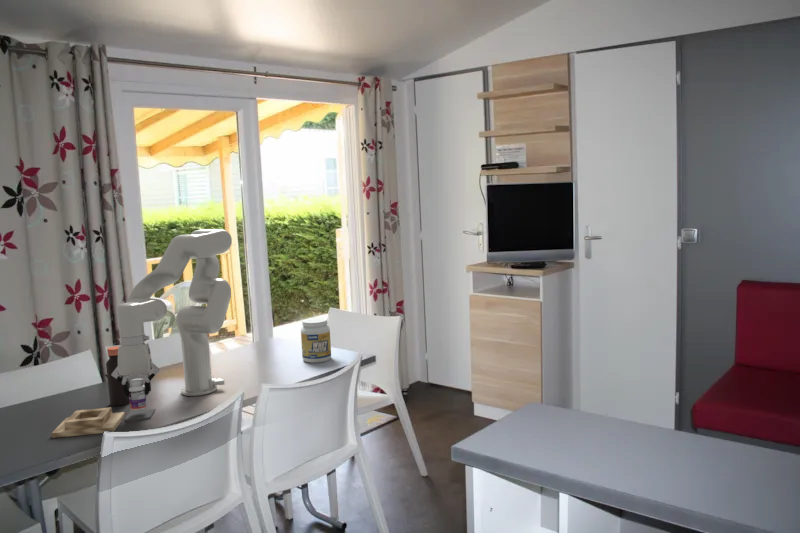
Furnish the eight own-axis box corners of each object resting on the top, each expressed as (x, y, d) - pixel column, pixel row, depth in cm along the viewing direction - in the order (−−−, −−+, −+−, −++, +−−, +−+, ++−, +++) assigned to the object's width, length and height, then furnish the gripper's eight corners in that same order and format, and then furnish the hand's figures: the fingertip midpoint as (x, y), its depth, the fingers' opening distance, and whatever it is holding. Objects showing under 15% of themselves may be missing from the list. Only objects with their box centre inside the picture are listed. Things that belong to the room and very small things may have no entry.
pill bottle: (133, 407, 221) (130, 378, 220) (149, 406, 221) (147, 377, 220) (128, 411, 215) (125, 382, 215) (145, 410, 216) (142, 381, 215)
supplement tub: (309, 365, 271) (306, 324, 269) (298, 359, 281) (295, 320, 279) (336, 360, 277) (333, 320, 275) (324, 354, 287) (322, 315, 285)
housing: (125, 416, 219) (123, 404, 219) (113, 431, 206) (112, 419, 205) (67, 421, 216) (65, 410, 216) (52, 437, 203) (50, 425, 202)
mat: (155, 410, 224) (155, 408, 223) (150, 418, 216) (150, 417, 216) (130, 413, 222) (130, 411, 222) (124, 421, 214) (124, 419, 214)
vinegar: (118, 407, 229) (112, 351, 226) (106, 404, 232) (100, 349, 230) (135, 401, 234) (129, 346, 232) (123, 399, 238) (117, 344, 235)
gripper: (162, 335, 221) (167, 388, 223) (108, 340, 218) (113, 393, 220) (157, 341, 213) (162, 395, 216) (101, 345, 211) (107, 400, 213)
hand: (137, 393), depth 218 cm, fingers closed on pill bottle, 5 cm apart
